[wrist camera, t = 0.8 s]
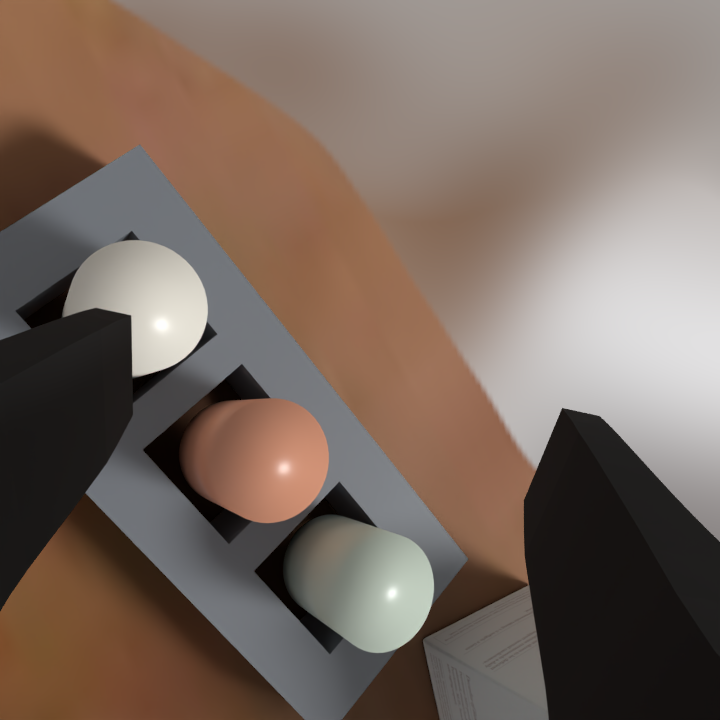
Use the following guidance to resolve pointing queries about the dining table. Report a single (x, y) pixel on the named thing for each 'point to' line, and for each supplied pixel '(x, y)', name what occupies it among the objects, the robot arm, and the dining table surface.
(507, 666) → the supplement box
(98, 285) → the plug cream
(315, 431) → the plug rust
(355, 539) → the plug sage
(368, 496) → the socket board
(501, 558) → the dining table surface
